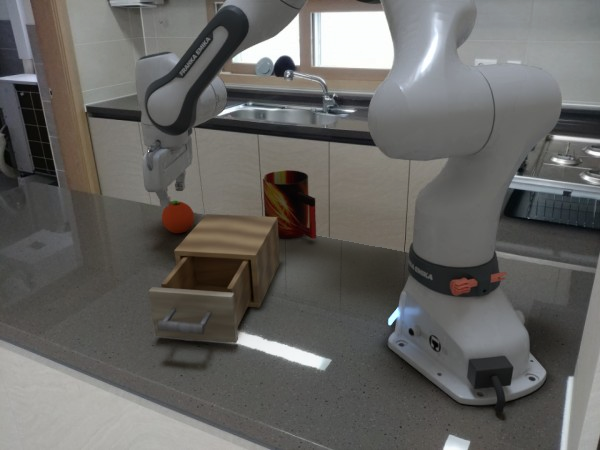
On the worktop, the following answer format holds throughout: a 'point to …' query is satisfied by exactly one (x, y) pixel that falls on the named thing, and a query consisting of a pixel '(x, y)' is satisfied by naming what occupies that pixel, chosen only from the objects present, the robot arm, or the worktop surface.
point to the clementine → (177, 217)
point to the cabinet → (237, 245)
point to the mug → (290, 203)
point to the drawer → (203, 299)
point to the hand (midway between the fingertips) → (173, 197)
